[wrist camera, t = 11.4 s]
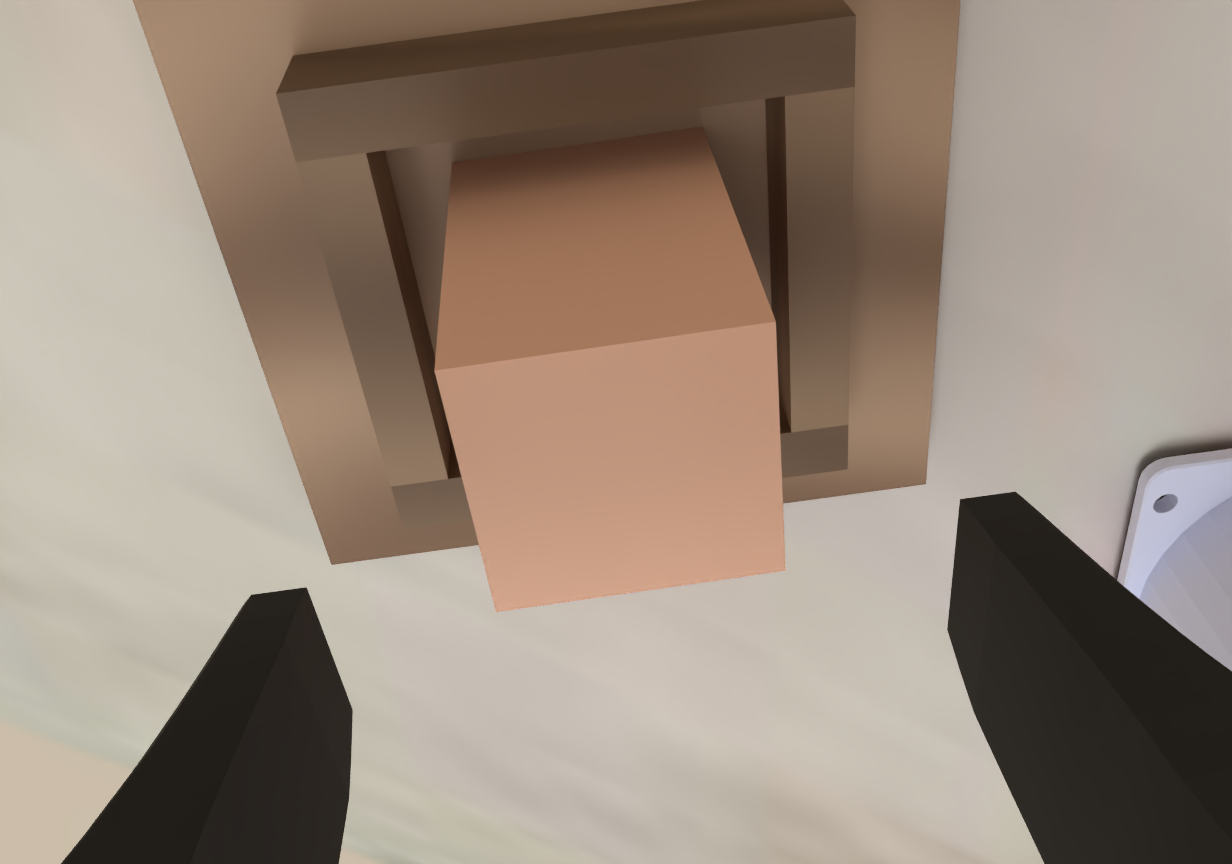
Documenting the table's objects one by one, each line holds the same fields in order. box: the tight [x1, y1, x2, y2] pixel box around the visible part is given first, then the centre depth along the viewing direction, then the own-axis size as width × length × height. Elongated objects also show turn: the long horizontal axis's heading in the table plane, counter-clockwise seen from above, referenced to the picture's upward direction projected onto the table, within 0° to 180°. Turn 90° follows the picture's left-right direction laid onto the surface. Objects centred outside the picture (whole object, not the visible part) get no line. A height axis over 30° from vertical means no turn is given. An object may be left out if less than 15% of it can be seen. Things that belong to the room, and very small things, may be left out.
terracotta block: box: [434, 127, 785, 612], centre depth 17 cm, size 4×4×6 cm
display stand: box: [133, 0, 960, 565], centre depth 19 cm, size 12×12×3 cm
